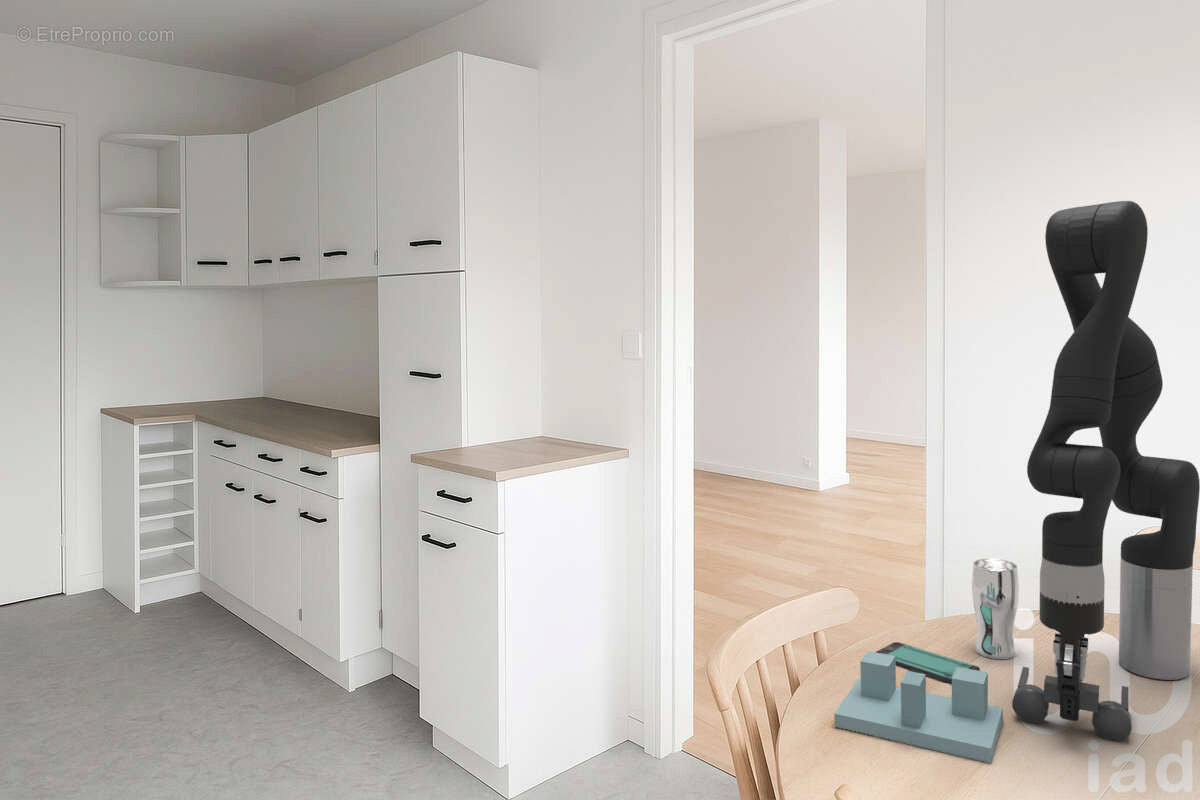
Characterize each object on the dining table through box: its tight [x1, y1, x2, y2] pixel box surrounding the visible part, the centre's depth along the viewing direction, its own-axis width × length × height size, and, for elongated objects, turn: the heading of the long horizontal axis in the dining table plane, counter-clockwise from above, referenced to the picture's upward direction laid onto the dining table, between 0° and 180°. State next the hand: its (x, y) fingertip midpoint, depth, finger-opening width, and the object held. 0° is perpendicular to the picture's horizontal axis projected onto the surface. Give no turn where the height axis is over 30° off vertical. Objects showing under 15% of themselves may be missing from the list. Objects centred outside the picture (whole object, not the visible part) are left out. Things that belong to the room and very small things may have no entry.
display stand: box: [833, 650, 1004, 764], centre depth 115 cm, size 12×20×8 cm, turn 57°
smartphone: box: [875, 641, 981, 685], centre depth 134 cm, size 7×1×15 cm
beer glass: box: [971, 558, 1020, 660], centre depth 136 cm, size 7×7×15 cm
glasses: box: [1011, 666, 1133, 742], centre depth 115 cm, size 9×14×6 cm
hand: (1070, 713), depth 112 cm, fingers closed on glasses, 2 cm apart
